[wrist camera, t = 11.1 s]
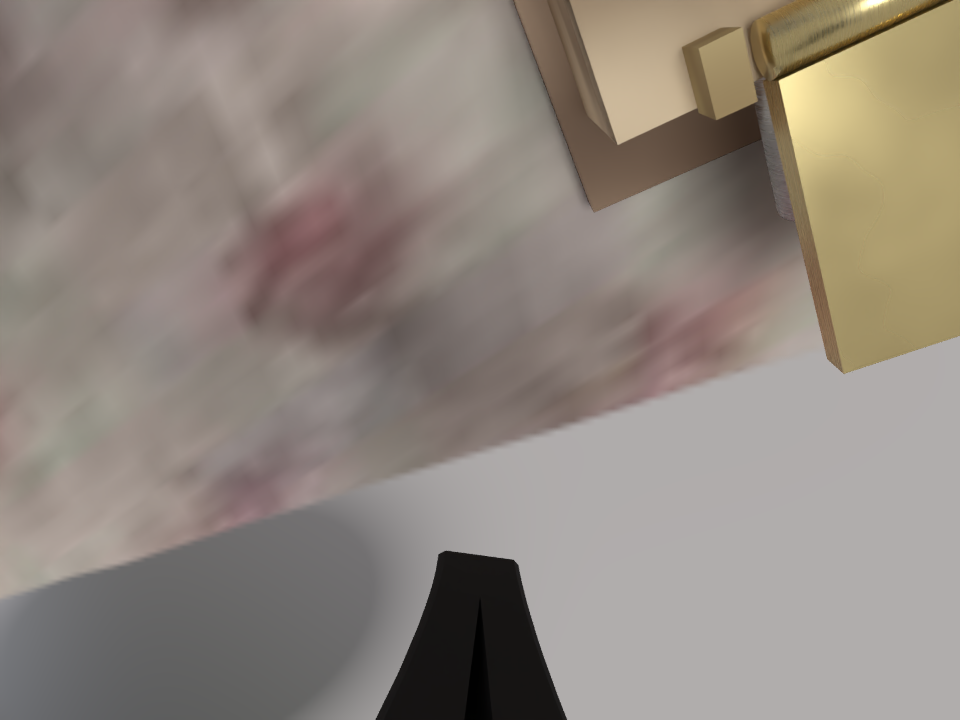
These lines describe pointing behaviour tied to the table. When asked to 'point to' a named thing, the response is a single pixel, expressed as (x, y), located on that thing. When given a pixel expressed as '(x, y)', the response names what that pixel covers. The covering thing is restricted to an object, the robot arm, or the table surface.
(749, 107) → the hitch block
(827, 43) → the brass hinge flap
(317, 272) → the table surface
